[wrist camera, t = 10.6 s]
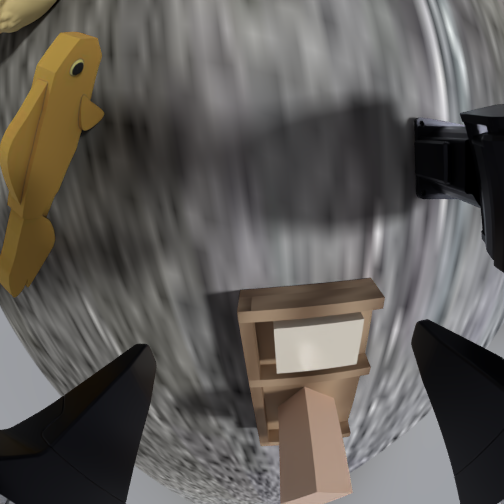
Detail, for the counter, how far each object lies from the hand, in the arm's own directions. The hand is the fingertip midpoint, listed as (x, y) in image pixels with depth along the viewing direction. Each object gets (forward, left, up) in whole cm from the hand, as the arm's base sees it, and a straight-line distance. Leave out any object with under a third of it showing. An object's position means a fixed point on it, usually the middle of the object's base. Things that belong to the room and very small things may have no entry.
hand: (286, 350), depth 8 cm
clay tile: (-3, +9, -12) cm, 15 cm away
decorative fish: (+17, -7, -13) cm, 23 cm away
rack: (-3, +16, -13) cm, 20 cm away
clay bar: (-3, +20, -12) cm, 23 cm away
